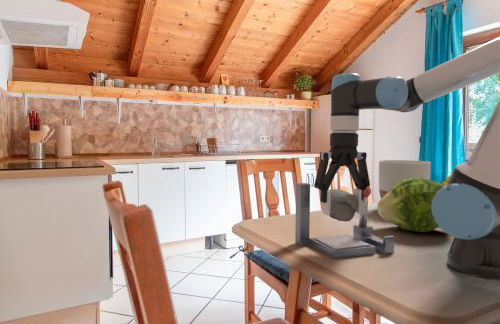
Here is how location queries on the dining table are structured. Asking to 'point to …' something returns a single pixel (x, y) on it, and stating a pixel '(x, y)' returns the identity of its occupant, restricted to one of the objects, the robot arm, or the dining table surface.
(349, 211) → the stone
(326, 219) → the dining table surface
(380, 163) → the planter
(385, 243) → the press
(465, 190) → the robot arm
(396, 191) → the lettuce
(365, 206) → the lever
